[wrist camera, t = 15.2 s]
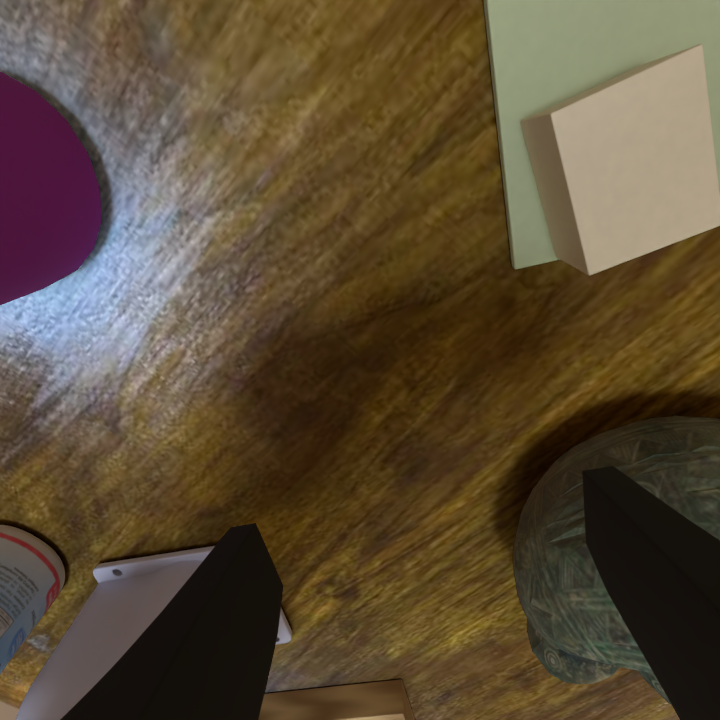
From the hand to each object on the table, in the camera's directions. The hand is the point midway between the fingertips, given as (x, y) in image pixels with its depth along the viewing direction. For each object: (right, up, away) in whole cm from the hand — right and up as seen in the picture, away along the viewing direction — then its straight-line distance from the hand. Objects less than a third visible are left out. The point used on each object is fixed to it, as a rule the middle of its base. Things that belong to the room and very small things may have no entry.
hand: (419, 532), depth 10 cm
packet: (+7, +11, +6) cm, 14 cm away
